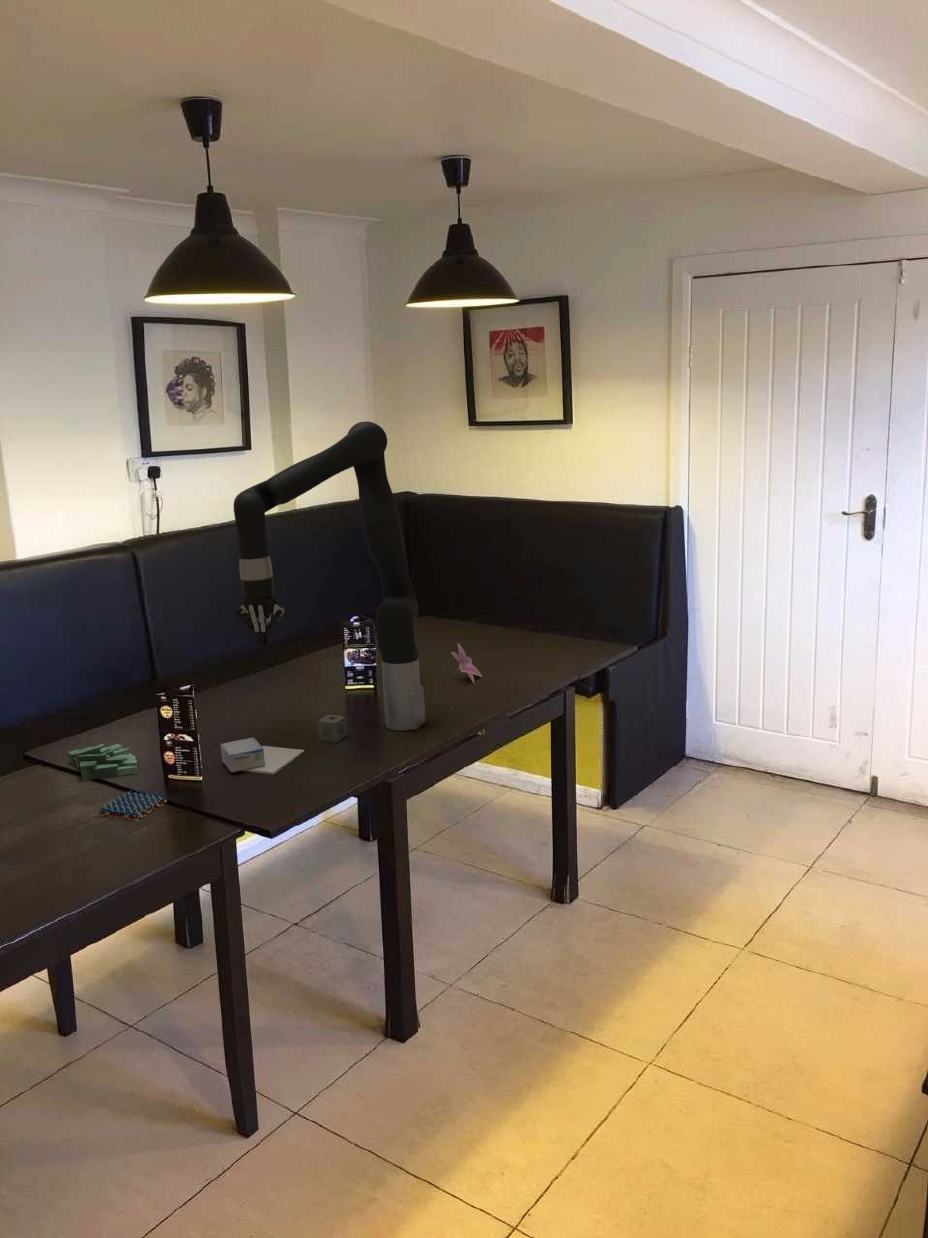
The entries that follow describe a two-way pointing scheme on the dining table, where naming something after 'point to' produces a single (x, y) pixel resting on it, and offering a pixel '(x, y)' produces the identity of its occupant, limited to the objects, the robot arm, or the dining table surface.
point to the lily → (465, 664)
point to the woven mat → (132, 805)
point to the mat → (276, 759)
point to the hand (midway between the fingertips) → (264, 646)
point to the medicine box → (242, 754)
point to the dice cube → (332, 728)
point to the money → (103, 761)
